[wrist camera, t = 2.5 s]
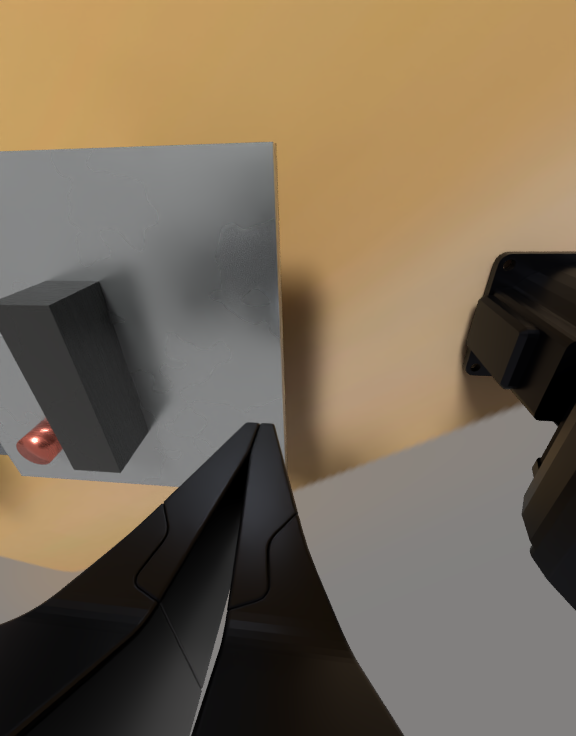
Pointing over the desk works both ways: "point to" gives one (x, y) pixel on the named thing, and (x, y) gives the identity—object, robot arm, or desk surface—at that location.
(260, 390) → the lid
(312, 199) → the desk surface
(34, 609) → the robot arm
